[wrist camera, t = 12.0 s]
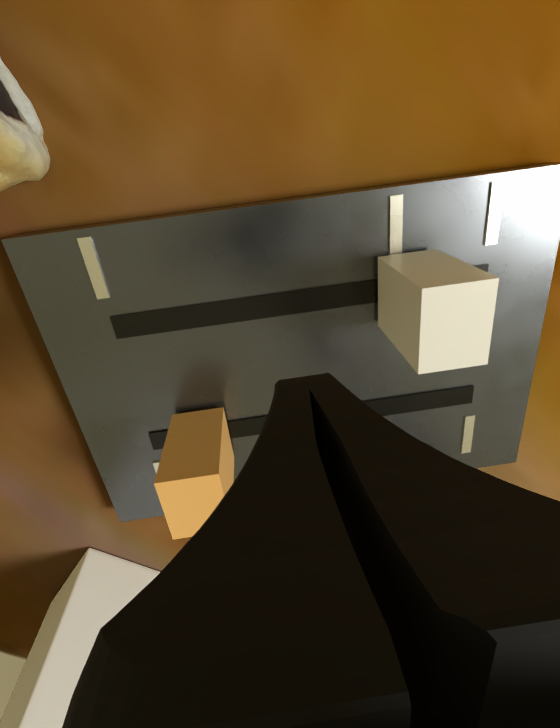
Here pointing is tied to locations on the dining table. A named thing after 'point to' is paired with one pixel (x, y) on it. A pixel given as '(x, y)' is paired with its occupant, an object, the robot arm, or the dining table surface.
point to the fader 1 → (194, 469)
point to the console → (286, 315)
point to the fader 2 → (436, 309)
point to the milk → (71, 637)
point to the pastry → (19, 135)
